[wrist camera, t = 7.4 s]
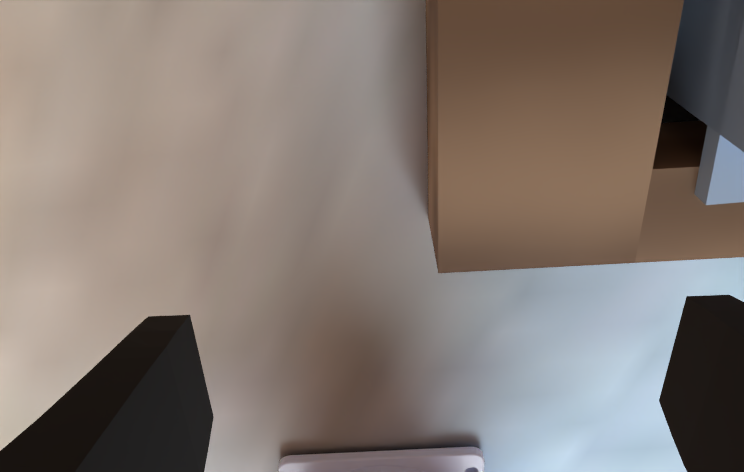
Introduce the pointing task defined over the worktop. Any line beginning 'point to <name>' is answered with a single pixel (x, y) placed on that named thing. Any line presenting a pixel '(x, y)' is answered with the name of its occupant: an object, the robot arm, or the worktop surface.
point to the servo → (713, 92)
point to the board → (562, 138)
